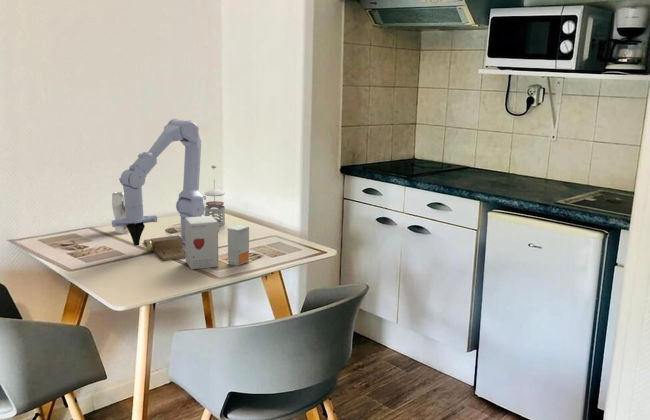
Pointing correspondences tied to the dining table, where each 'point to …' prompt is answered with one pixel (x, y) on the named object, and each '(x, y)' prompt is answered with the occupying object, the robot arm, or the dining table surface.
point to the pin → (150, 246)
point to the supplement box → (201, 242)
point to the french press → (215, 204)
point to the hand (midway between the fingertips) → (136, 244)
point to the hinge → (168, 247)
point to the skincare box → (238, 245)
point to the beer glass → (119, 211)
